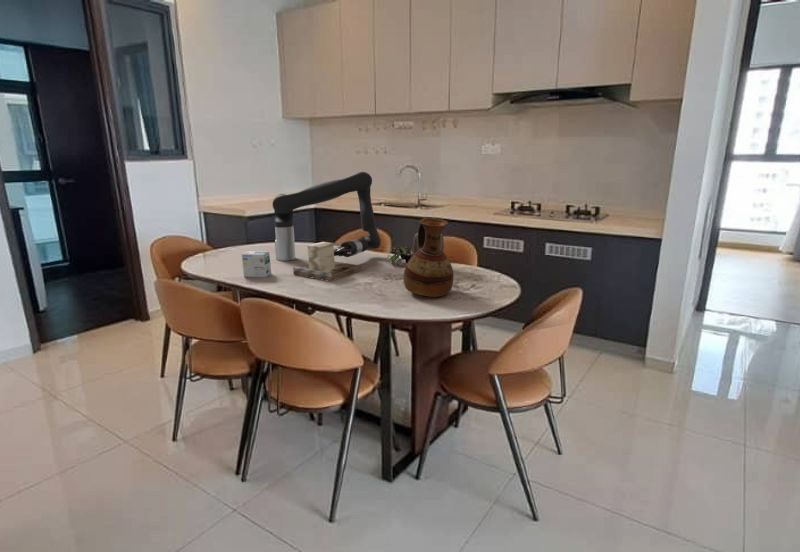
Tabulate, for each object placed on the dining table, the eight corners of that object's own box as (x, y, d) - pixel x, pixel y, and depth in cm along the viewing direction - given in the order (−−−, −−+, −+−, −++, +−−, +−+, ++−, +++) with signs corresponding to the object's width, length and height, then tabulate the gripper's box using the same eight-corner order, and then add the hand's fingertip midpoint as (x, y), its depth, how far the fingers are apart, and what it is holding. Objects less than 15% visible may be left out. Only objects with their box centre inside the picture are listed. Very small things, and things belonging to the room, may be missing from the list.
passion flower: (406, 274, 234) (420, 256, 229) (395, 275, 225) (410, 256, 220) (392, 259, 238) (405, 241, 233) (380, 259, 229) (394, 240, 224)
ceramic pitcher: (416, 303, 173) (417, 223, 165) (395, 289, 191) (395, 216, 183) (462, 297, 181) (464, 220, 173) (437, 283, 199) (439, 213, 191)
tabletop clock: (443, 268, 224) (444, 216, 217) (442, 273, 215) (444, 219, 208) (413, 267, 225) (413, 215, 219) (411, 272, 217) (411, 218, 210)
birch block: (309, 271, 211) (307, 245, 208) (323, 266, 219) (322, 241, 216) (320, 273, 208) (318, 247, 204) (334, 268, 216) (333, 243, 212)
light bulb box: (271, 273, 215) (269, 250, 212) (266, 277, 209) (264, 254, 206) (249, 273, 216) (247, 250, 213) (243, 277, 210) (241, 253, 207)
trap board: (293, 274, 214) (293, 267, 213) (326, 263, 232) (326, 257, 231) (330, 281, 202) (330, 273, 201) (362, 269, 221) (361, 262, 220)
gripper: (340, 239, 232) (317, 245, 218) (362, 241, 226) (339, 248, 211) (341, 254, 234) (318, 261, 220) (362, 257, 228) (340, 264, 213)
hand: (328, 254), depth 216 cm, fingers closed
